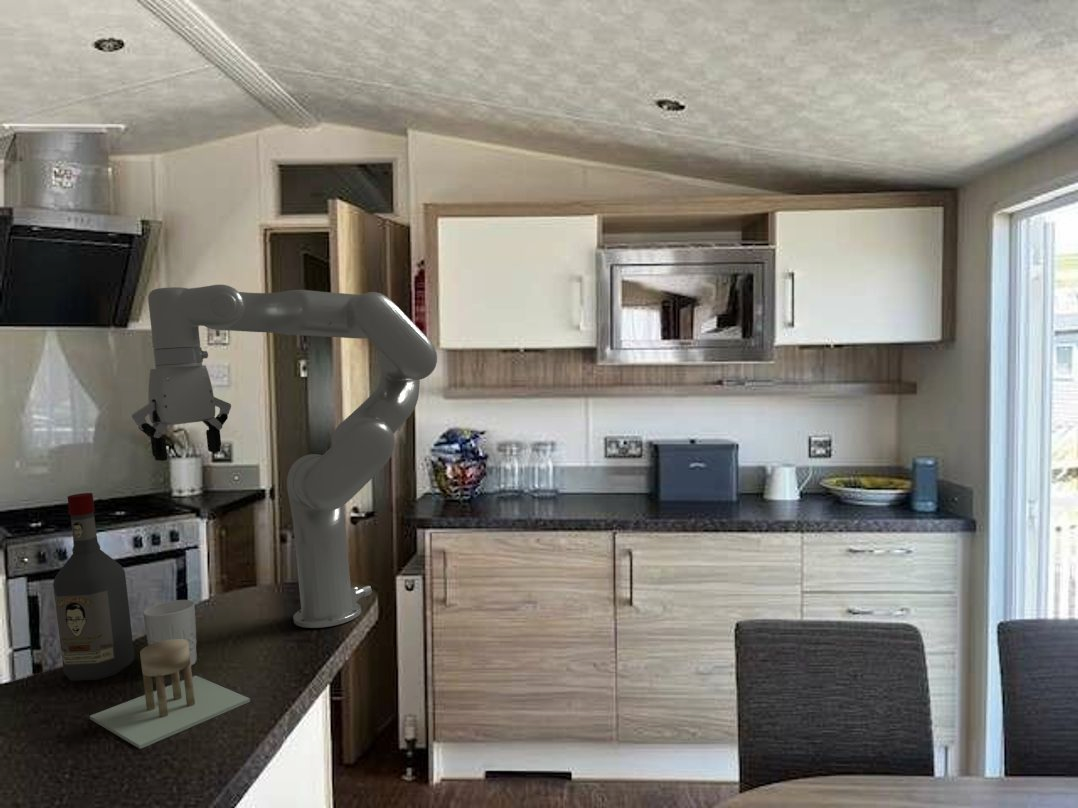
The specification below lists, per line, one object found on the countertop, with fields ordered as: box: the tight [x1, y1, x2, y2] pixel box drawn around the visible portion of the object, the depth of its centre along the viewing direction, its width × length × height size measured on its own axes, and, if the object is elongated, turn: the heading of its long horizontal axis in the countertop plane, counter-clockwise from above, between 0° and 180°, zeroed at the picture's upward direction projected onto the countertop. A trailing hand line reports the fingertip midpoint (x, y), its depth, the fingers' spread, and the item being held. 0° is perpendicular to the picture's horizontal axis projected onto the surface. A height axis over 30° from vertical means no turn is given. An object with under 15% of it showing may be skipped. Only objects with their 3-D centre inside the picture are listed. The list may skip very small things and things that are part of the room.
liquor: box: [52, 492, 135, 682], centre depth 133 cm, size 9×9×30 cm
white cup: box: [142, 599, 198, 666], centre depth 134 cm, size 8×8×10 cm
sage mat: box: [89, 675, 251, 750], centre depth 116 cm, size 16×16×1 cm
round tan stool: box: [139, 639, 195, 717], centre depth 116 cm, size 6×6×9 cm
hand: (188, 455), depth 140 cm, fingers open, 9 cm apart
